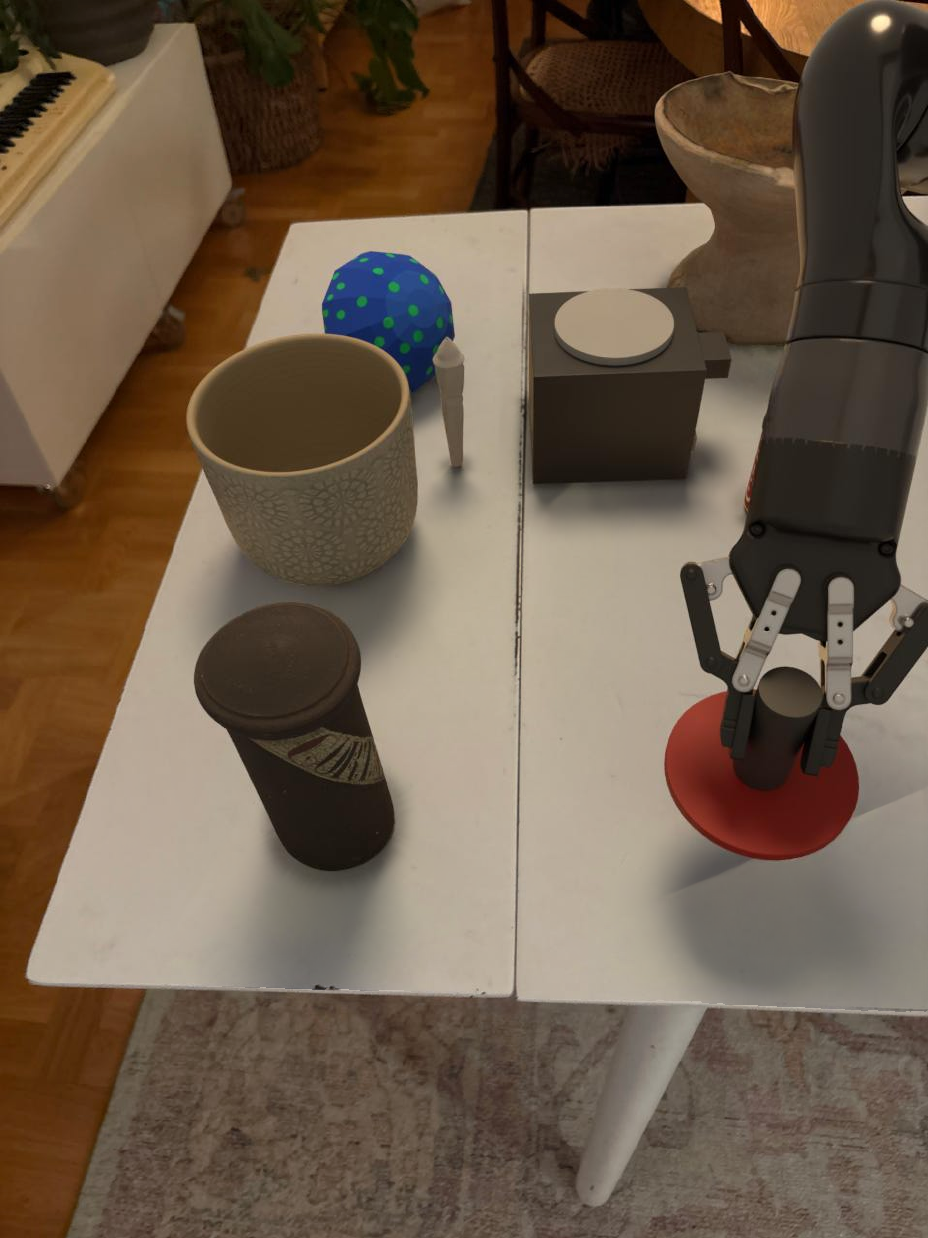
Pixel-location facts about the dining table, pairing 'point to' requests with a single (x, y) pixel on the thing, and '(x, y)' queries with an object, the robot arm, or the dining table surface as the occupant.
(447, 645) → the dining table surface
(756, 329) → the bowl
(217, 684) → the container
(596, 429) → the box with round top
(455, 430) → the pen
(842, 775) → the lid
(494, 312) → the dining table surface
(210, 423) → the planter
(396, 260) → the polka dot ball
